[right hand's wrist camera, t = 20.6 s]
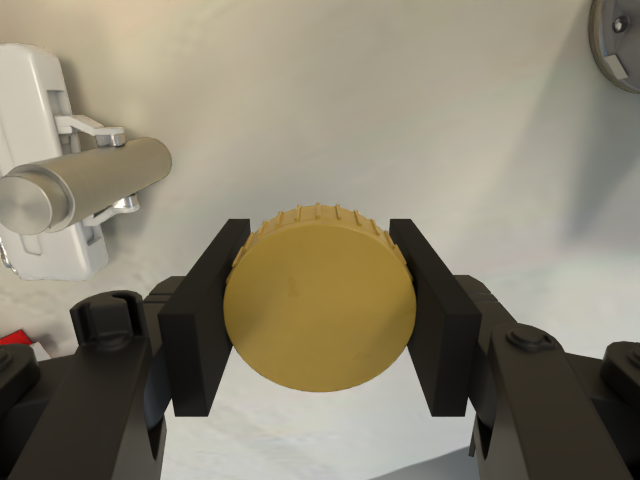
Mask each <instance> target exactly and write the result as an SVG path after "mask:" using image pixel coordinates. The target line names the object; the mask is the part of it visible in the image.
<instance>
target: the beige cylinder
mask: <svg viewBox="0 0 640 480" xmlns="http://www.w3.org/2000/svg"><path fill="white" fill-rule="evenodd" d="M171 166H172V159H171V155H170V153H169V151H168V149H167V148H166V146H165V145H164V144H163V143H161V142H160V141H158V140H156V139H153V138H148V137H145V138H140V139H135V140H131V141H126V144H125V145H120V146H110V145H109V146H104V147H99V148H95V149H90V150H86V151H81V152H77V153H72V154H68V155H63V156H59V157H54V158H50V159H45V160H41V161H36V162H32V163H27V164H23V165H19V166H17V167H15V168H13V169H12V170H10V171H9V172H8V173H7V175H5V176H3V177H2V178H0V223H1V224H2V225H3V226H4V227H6V228H7V229H9V230H11V231H13V232H15V233H18V234H21V235H28V236H38V235H41V234H44V233H55V232H58V231H61V230H63V229H65V228H67V227H69V226H71V225H73V224H75V223H77V222H79V221H81V220H83V219H84V218H86V217H88V216H90V215H92V214H94V213H96V212H98V211H100V210H102V209H104V208H106V207H108V206H110V205H112V204H114V203H116V202H118V201H120V200H122V199H124V198H125V197H127V196H129V195H131V194H133V193H135V192H137V191H139V190H141V189H143V188H145V187H147V186H149V185H151V184H153V183H155V182H157V181H159V180H161V179H163V178H164V177H165V176H167V174H168V173H169V172H170V169H171Z"/></svg>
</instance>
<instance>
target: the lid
mask: <svg viewBox="0 0 640 480" xmlns="http://www.w3.org/2000/svg"><path fill="white" fill-rule="evenodd" d="M406 264H407V263H406V261H405V259H404V257H403V255H402V253H401V252H400V250H399V248H398V246H397V244H396V245H394V243H393V241H392V240H391V238H390V236H389V234H388V232H387V231H386V230H385V231H384V232H383V231H382V230H381V229H380V228H379V227H378V226H377V225H376V223H375V220H373V219H372V218H371V220H369V219H367V218H365V217H363V216H362V215H360V214H359V212H358V211H357V210H354V212H353V211H350V210H347V209H343V208H340V205H338V204H336V207H333V206H320V203H316V206H306V207H301V205H297V209H293V210H289V211H287V212H285V213H283V211H280V212H279V213H278V216H276V217H274V218H273V219H271V220H269V221H268V222H267V221H266V220H265V221H263V223H262V225H261V227H260V228H259V229H258V230H257V231H256V232H255V233H253V232H252V233H251V234H250V235H249V237H248V239H247V241H246V243H245V245H244V247H241V249H240V251H239V253H238V255H237V256H236V258H235V260H234V262H233V264H232V267H233V268H232V270H231V272H230V274H229V276H228V278H227V280H226V284H227V285H226V288H225V293H224V298H223V310H224V320H225V326H226V330H227V333H228V336H229V338H230V340H231V343H232V344H233V346H234V348H235V349H236V351H237V352H238V354H239V355H240V356H241V357H242V359H243V360H244V361H245V362H246V363H247V364H248V365H249V366H250V367H251V368H252V369H254V370H255V371H256V372H258V373H259V374H260V375H262V376H264V377H265V378H267V379H269V380H270V381H273V382H275V383H277V384H279V385H282V386H285V387H288V388H291V389H296V390H300V391H308V392H332V391H339V390H344V389H349V388H352V387H355V386H358V385H360V384H363V383H365V382H367V381H369V380H371V379H373V378H374V377H376V376H378V375H379V374H381V373H382V372H383V371H385V370H386V369H387V368H388V367H389V366H390V365H391V364H392V363H393V362H394V361H396V359H397V358H398V357H399V356H400V354H401V353H402V352H403V350H404V349H405V347H406V345H407V344H408V342H409V339H410V337H411V335H412V332H413V329H414V325H415V317H416V295H415V290H414V286H413V283H412V281H414V280H413V277H412V275H411V273H410V271H409V270H408V268H407V266H406Z"/></svg>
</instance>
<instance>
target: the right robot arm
mask: <svg viewBox="0 0 640 480" xmlns="http://www.w3.org/2000/svg"><path fill="white" fill-rule="evenodd" d="M589 34H590V43H591V49H592V52H593V55H594V58H595V60H596V63H597V65H598V67H599V68H600V70H601V71H602V73H603V74H604V75H605V76H606V77H607V78H608V80H609V81H611V82H612V83H613V84H614V85H616V86H618V87H619V88H621V89H623V90H625V91H628V92H631V93H635V94H640V0H593V4H592V8H591V14H590V24H589ZM250 234H251V232H250V219H229V220H228V221H227V222H226V224H225V225H224V226H223V228H222V229H221V230H220V232H219V233H218V234H217V236H216V237H215V238H214V240H213V241H212V242H211V244H210V245H209V246H208V248H207V249H206V250H205V252H204V253H203V254H202V256H201V257H200V258H199V260H198V261H197V262H196V263H195V265H194V266H193V267H192V269H191V270H190V271H189V273H188V274H187V275H186V276H171V277H169V278H167V279H166V280H164V281H162V282H161V283H159V284H157V285H156V286H155V288H154V289H153V290H152V291H151V292H150V293H149V296H147V297H146V298H145V299H144V300H143V299H142V296H141V295H140V294H138V293H137V292H133V291H128V290H118V291H110V292H104V293H100V294H97V295H94V296H91V297H88V298H86V299H84V300H82V301H80V302H79V303H77V304H76V305H75V306H73V307H72V308H71V309H70V310H69V311H70V315H71V318H72V322H73V326H74V329H75V333H76V337H77V341H78V344H79V346H78V348H77V350H76V352H75V354H73V355H69V356H64V357H59V358H53V359H48V360H43V361H37V359H36V356H35V353H34V349H33V348H32V347H30V346H29V345H28V344H20V343H13V344H1V345H0V480H160V477H161V469H162V462H163V455H164V447H165V440H166V433H167V429H166V422H165V416H164V412H165V410H166V408H167V406H168V404H169V402H170V400H171V398H172V402H173V408H174V413H175V417H208V415H209V412H210V409H211V406H212V403H213V401H214V398H215V395H216V392H217V389H218V386H219V384H220V381H221V378H222V375H223V372H224V369H225V366H226V364H227V361H228V358H229V355H230V352H231V349H232V347H233V344H232V343H231V340H230V338H229V336H228V333H227V330H226V326H225V320H224V310H223V298H224V293H225V288H226V285H227V284H226V280H227V278H228V276H229V274H230V272H231V270H232V268H233V267H232V264H233V262H234V260H235V258H236V256H237V255H238V253H239V251H240V249H241V247H244V245H245V243H246V241H247V239H248V237H249V235H250ZM389 236H390V238H391V240H392V241H393V243H394V245H396V244H397V246H398V248H399V250H400V252H401V253H402V255H403V257H404V259H405V261H406V263H407V264H406V266H407V268H408V270H409V271H410V273H411V275H412V277H413V280H414V281H412V283H413V286H414V290H415V295H416V317H415V325H414V329H413V332H412V335H411V337H410V339H409V342H408V344H407V347H408V350H409V353H410V356H411V359H412V361H413V364H414V367H415V370H416V373H417V376H418V379H419V381H420V384H421V387H422V390H423V393H424V396H425V398H426V401H427V404H428V407H429V410H430V413H431V415H432V417H465V412H466V406H467V400H468V397H469V399H470V401H471V403H472V405H473V407H474V409H475V411H476V416H475V422H474V427H473V432H472V438H471V443H470V448H469V456H471V457H474V453H475V449H476V454H477V461H478V468H479V476H480V480H640V343H638V342H636V343H635V342H626V341H621V342H613V343H612V344H610V345H609V346H607V348H606V352H605V355H604V358H603V360H601V359H596V358H591V357H585V356H580V355H575V354H570V353H566V352H565V351H564V350H563V348H562V346H561V344H560V343H559V342H558V341H557V340H556V339H555V338H554V337H553V336H551V335H550V334H548V333H546V332H545V331H543V330H540V329H538V328H535V327H533V326H530V325H525V324H521V323H517V321H516V320H515V319H514V318H513V317H512V316H511V315H510V314H509V312H508V311H507V310H506V309H505V308H504V307H503V306H502V304H501V303H500V302H498V300H497V299H496V298H495V297H494V295H493V294H491V292H490V291H489V290H488V289H487V287H486V286H485V285H484V284H483V283H482V282H480V281H478V280H476V279H475V278H473V277H471V276H469V275H453V274H452V273H451V272H450V270H449V269H448V268H447V266H446V265H445V264H444V263H443V261H442V260H441V259H440V257H439V256H438V255H437V253H436V252H435V251H434V249H433V248H432V247H431V245H430V244H429V243H428V241H427V240H426V239H425V237H424V236H423V235H422V233H421V232H420V231H419V229H418V228H417V227H416V225H415V224H414V223H413V221H412V220H411V219H390V228H389Z"/></svg>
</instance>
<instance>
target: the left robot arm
mask: <svg viewBox="0 0 640 480" xmlns="http://www.w3.org/2000/svg"><path fill="white" fill-rule="evenodd" d="M77 132H85V133H88V134H90V135H92V136H94V137H95V138H96V141H97V145H98V147H104V146H109V145H110V146H120V145H125V144H126V139H125V134H124V129H123V127H104V126H103V125H102V124H100V123H98V122H96V121H94V120H92V119H90V118H88V117H86V116H84V115H73V114H72V110H71V106H70V102H69V98H68V94H67V90H66V86H65V82H64V78H63V74H62V69H61V65H60V62H59V59H58V58H57V57H56V56H55V55H54V54H53V53H51V52H50V51H48V50H47V49H45V48H43V47H40V46H36V45H30V44H22V43H4V44H0V178H2V177H3V176H5V175H7V173H8V172H9V171H10V170H12V169H13V168H15V167H17V166H19V165H23V164H27V163H32V162H36V161H41V160H45V159H50V158H54V157H59V156H63V155H68V154H72V153H77V152H81V151H82V150H81V146H80V142H79V138H78V134H77ZM138 209H140V206H139V201H138V197H137V193H133V194H131V195H129V196H127V197H125V198H124V199H122V200H120V201H118V202H116V203H114V204H112V205H111V207H110V208H108V209H107V210H106V208H104V209H102V210H100V211H98V212H96V213H94V214H92V215H90V216H88V217H86V218H84V219H83V220H81V221H79V222H77V223H75V224H73V225H71V226H69V227H67V228H65V229H63V230H61V231H58V232H55V233H44V234H41V235H38V236H28V235H21V234H18V233H15V232H13V231H11V230H9V229H7V228H6V227H4V226H3V225H2V224H1V223H0V250H1V258H2V261H3V263H4V265H5V266H6V267H7V268H11V269H12V271H13V272H14V273H15V274H16V275H18V276H19V277H20V278H21V279H23V280H43V279H49V280H60V281H85V280H88V279H90V278H91V277H93V276H94V275H96V274H97V273H98V272H99V271H100V270H101V269H102V268H103V267H104V266H105V265H106V264H107V263H108V261H109V258H108V253H107V250H106V246H105V242H104V238H103V234H102V230H101V226H100V224H101V223H103V222H104V221H106V220H108V219H110V218H111V217H112V216H114V215H115V214H117V213H131V212H135V211H137V210H138Z"/></svg>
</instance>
